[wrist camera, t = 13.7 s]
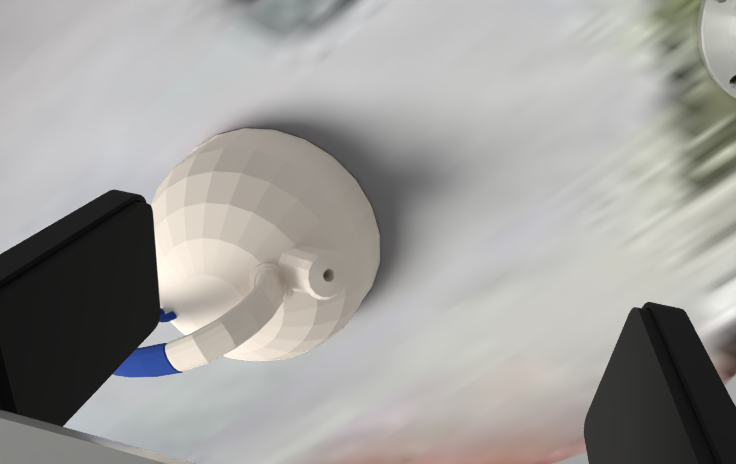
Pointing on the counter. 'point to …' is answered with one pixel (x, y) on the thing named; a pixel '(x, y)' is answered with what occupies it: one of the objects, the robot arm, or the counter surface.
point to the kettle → (256, 252)
